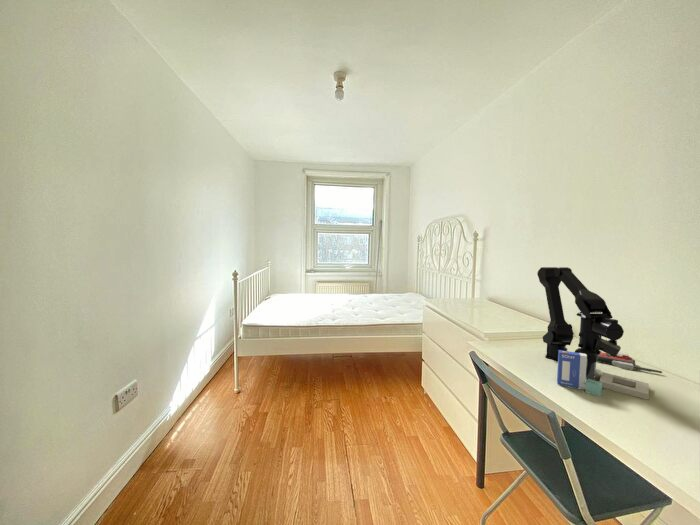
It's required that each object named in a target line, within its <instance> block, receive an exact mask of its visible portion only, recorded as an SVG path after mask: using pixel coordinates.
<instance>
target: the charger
mask: <svg viewBox="0 0 700 525" xmlns="http://www.w3.org/2000/svg"><path fill="white" fill-rule="evenodd" d="M596 371H597V362H594V363H592V364H591V368H590V371H589V374H588V375H586V379H591V380H594V381H595V378H596Z"/></svg>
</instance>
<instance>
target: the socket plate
mask: <svg viewBox="0 0 700 525" xmlns="http://www.w3.org/2000/svg"><path fill="white" fill-rule="evenodd" d="M599 378H600V379H599V381H598V382H602V383H603V387H602V389H606V390H610V391H614V392H618V393H621V394H624V395H625V394H626V395H629V396H632V397H633V396H634V397H637V398H640V399H644V400H647V401H648V400H649V395H650V394H649V393H650V389H649V388H650V383H649V382H646V381H645V382H644V381H642V380H641V381H640V380H637V379H632V378H628V377H626V376H625V377H624V376H619V375H615V374H611V373H607V372H603V371H602V372H601V376H600V377H599Z"/></svg>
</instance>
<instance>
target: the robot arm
mask: <svg viewBox="0 0 700 525" xmlns="http://www.w3.org/2000/svg"><path fill="white" fill-rule="evenodd" d="M536 274H537V277H538V281H539V283H540V284H541V285H542V286H543V287H544V289H545V295H546V302H547V306H548V314H549V319H550V321H549V322H548V326H547V332H546V333H545V334H544V335H543V336H542V341H543V343H544V344H546V355H545V356H544V357H545V358H547V359H551V360H554V361H555V360H556V361H558V350H563V351H568V348H567V346H571V344H572V342H573V340H574V335H575V333H574V331H573V325H572V324H570V323H568V322H567V321H566V320H565V313H564V309H563V303H562V298H561V293H560V292H561V291H560V288H559V287H560V284H561V282H562V283H563V284H564V285H565V287H566V288H567V289H568V290H569V292H570V293H571V294H572V295H573V297H574V303H575V305H576V307H577V308H578V310H579V312H577V313H576V316H577V317H580V326H579V333H578V337H579V339H578V340H579V342H578V344H577V345H578V346H577V347H578V348H577V349H575V350H574V352H576V353H583V354H586V355H587V367H586V375H588V374H589V371H590V368H591V364H592V363H594V362H596V363H597V360H598V355H599V354H600V353H601V352H602V353H607V354H609V355H610V356H612V357H616V356H617V354H618V353H620V351H621V348H622V347H621V346H620V345H618V340H620V339H621V338H622V337H623V335H624V332H625V331H624V329H623V327H622V325H620V324H619V320H618V319H615V318H613V315H612V312H611V311H610V309H609V307H608V306H607V303H606V301H605V299H604V298H602V297H601V296H600V295H599V294H597V293H595V292H593V291H591V290H589V289H588V288H587V287H586V286H585V284H584V283H583V282H582V281H581V280H580V279H579V278H578V277H577V276H576V275H575V274H574V272H573V270H572V269H571V268H570V267H568V266H567V267H564V266H559V267H556V266H555V267H553V266H551V267H550V266H549V267H547V266H545V267H544V266H543V267H540V268H539V269H538V271H537V272H536ZM602 337H603V338H602ZM604 338H606V339H604ZM607 339H608V340H607Z"/></svg>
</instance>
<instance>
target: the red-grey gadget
mask: <svg viewBox="0 0 700 525" xmlns="http://www.w3.org/2000/svg"><path fill="white" fill-rule="evenodd" d="M597 362H598V363H603V364H608V365H613V366H614V367H617V368H620V369H625V370H630V371H634V370H640V371H645V372H650V373H651V372H653V373H657V374H663V371H661V370H657V369H653V368H646V367H641V366H638V365H636V360H635V359H633V357H631V356H629V355H628V353H621V352H619V353H618V354H617V356H616V357H612V356H610V355H609V354H607V353H605V352H603V351H601V353H600V354H599V355H598V360H597ZM597 362H596V363H597Z"/></svg>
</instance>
